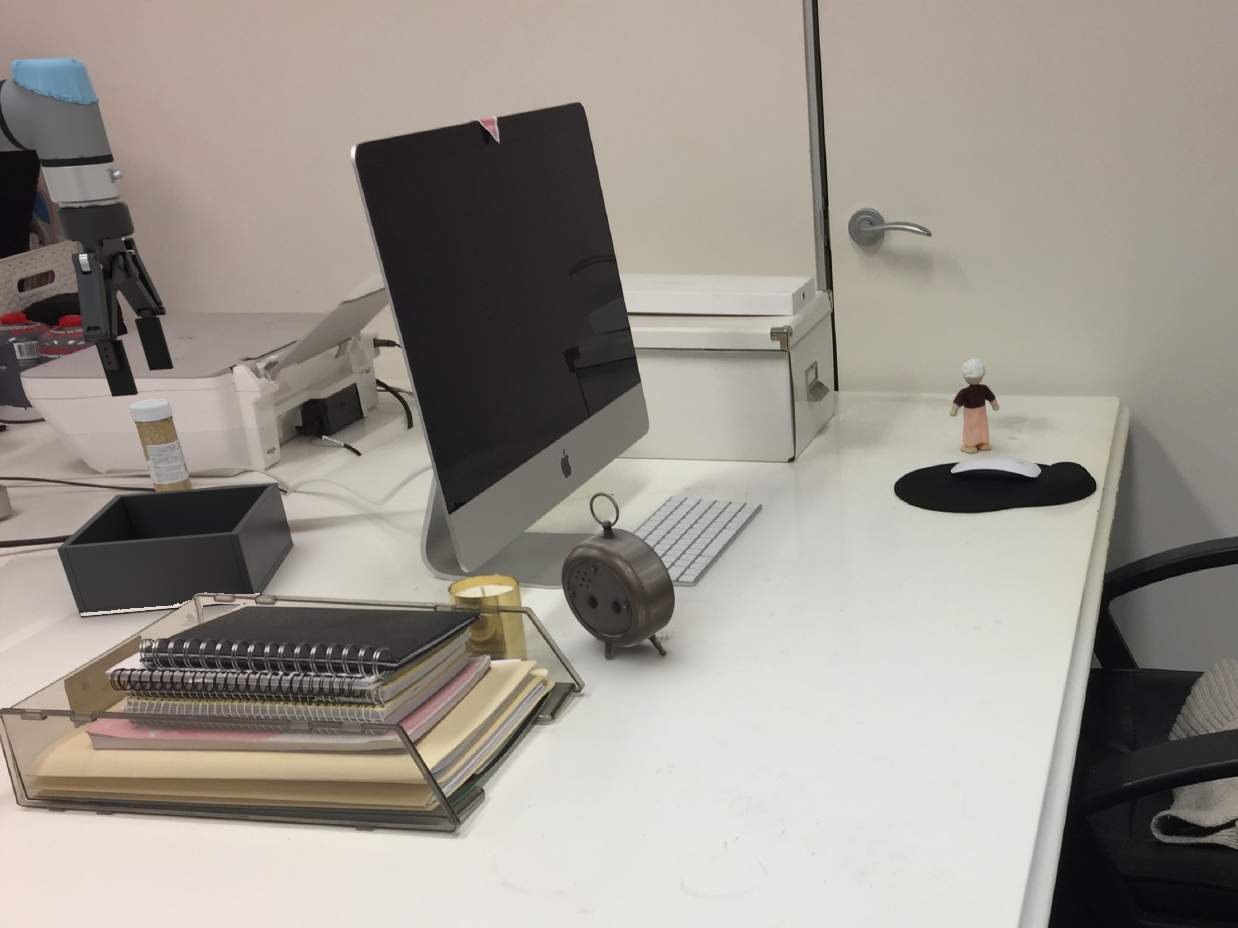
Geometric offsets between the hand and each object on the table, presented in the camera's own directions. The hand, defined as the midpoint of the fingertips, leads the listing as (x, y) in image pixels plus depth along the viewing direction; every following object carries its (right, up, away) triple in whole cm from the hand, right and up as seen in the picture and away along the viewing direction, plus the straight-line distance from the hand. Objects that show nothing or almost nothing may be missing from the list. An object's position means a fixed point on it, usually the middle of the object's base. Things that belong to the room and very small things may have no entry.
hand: (144, 381), depth 164 cm
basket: (+15, -26, -17) cm, 34 cm away
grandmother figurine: (+105, -5, +20) cm, 107 cm away
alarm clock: (+68, -35, -36) cm, 85 cm away
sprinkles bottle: (0, -14, +8) cm, 16 cm away
